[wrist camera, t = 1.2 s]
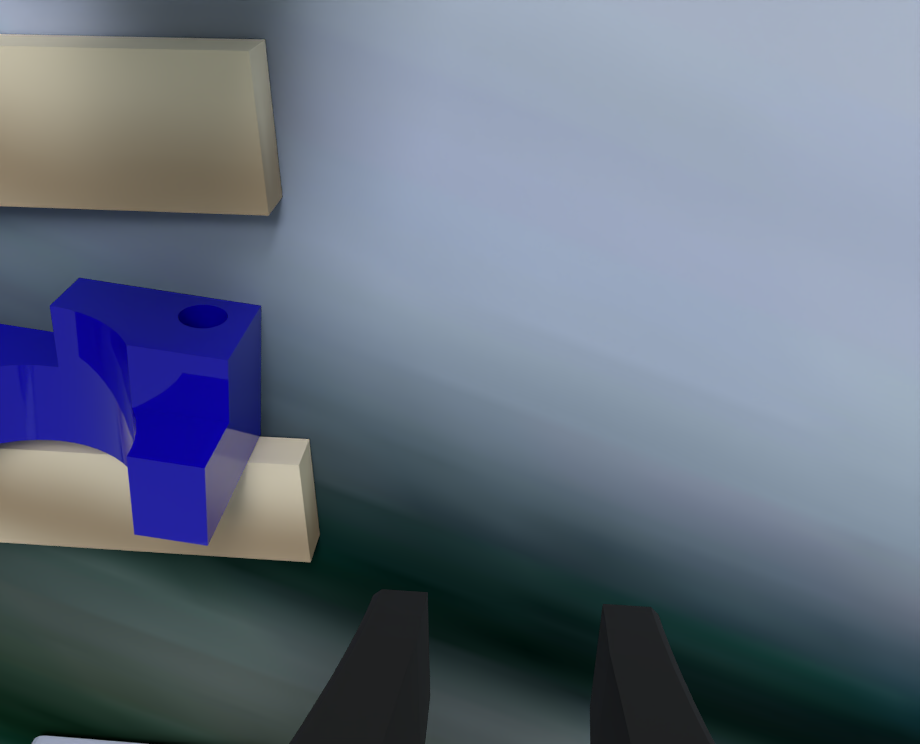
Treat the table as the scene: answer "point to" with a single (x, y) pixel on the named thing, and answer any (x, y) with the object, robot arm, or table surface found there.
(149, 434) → the cable holder
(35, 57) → the birch track
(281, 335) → the table surface
